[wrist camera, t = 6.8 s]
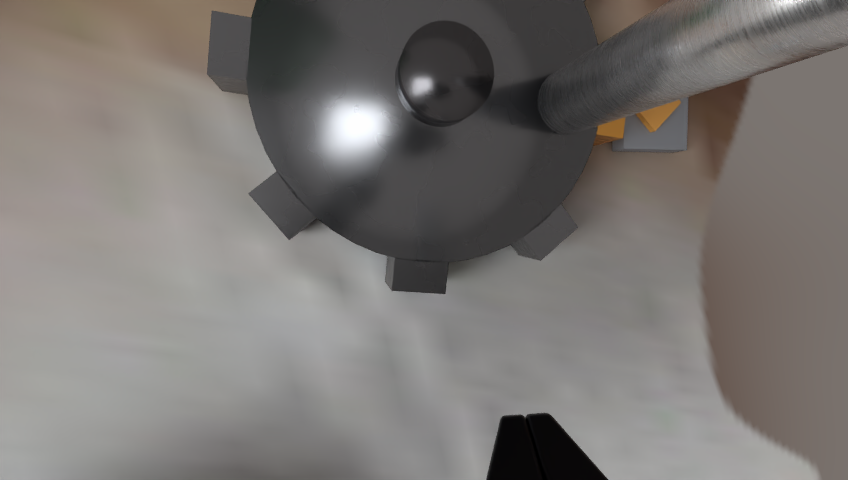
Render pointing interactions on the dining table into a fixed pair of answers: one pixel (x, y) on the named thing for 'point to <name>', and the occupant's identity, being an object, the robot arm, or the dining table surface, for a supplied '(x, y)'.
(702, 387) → the dining table surface
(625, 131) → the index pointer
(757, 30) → the sprocket
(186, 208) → the dining table surface
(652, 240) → the dining table surface
